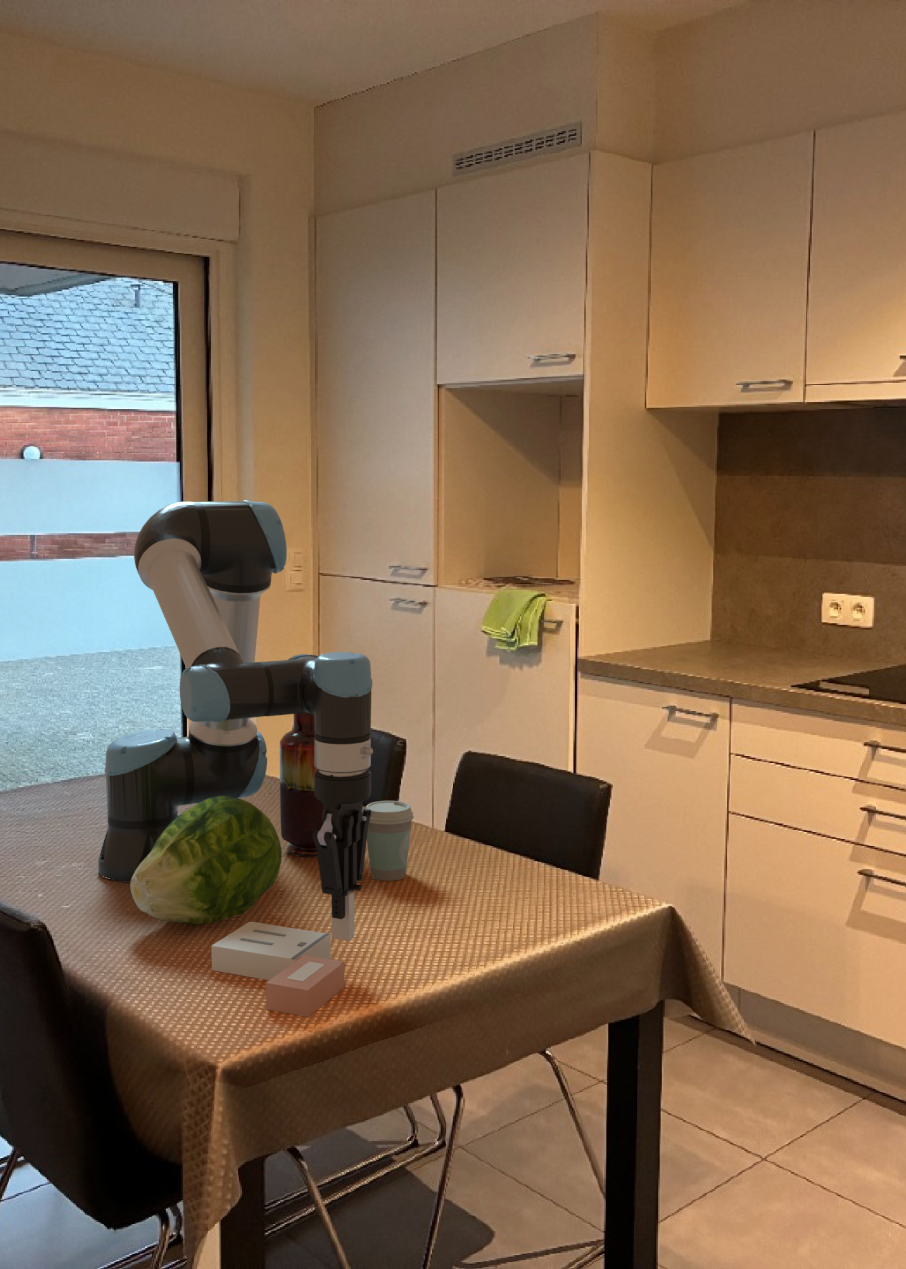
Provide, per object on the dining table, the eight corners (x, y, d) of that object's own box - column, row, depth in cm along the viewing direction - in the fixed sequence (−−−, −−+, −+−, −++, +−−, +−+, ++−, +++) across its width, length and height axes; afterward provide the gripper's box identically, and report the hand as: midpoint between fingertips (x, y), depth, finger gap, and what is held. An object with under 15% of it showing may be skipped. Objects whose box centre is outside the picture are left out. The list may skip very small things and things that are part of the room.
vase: (303, 862, 218) (301, 715, 214) (269, 848, 226) (266, 706, 223) (354, 850, 225) (353, 707, 222) (319, 837, 233) (317, 699, 230)
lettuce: (110, 916, 192) (98, 813, 185) (240, 861, 207) (233, 764, 200) (172, 974, 179) (161, 866, 172) (306, 911, 194) (301, 809, 187)
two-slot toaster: (211, 970, 171) (211, 944, 170) (250, 944, 180) (250, 920, 179) (295, 985, 166) (295, 959, 165) (330, 958, 175) (330, 933, 174)
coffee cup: (407, 885, 206) (406, 814, 204) (357, 881, 208) (356, 811, 206) (418, 869, 214) (418, 801, 213) (370, 866, 216) (370, 798, 214)
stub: (266, 1009, 158) (265, 982, 158) (304, 979, 167) (304, 954, 167) (308, 1017, 156) (307, 989, 155) (344, 986, 165) (344, 960, 165)
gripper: (345, 784, 159) (345, 960, 163) (389, 761, 171) (388, 925, 175) (293, 777, 162) (294, 950, 166) (340, 755, 174) (340, 917, 177)
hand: (342, 937), depth 170 cm, fingers closed
